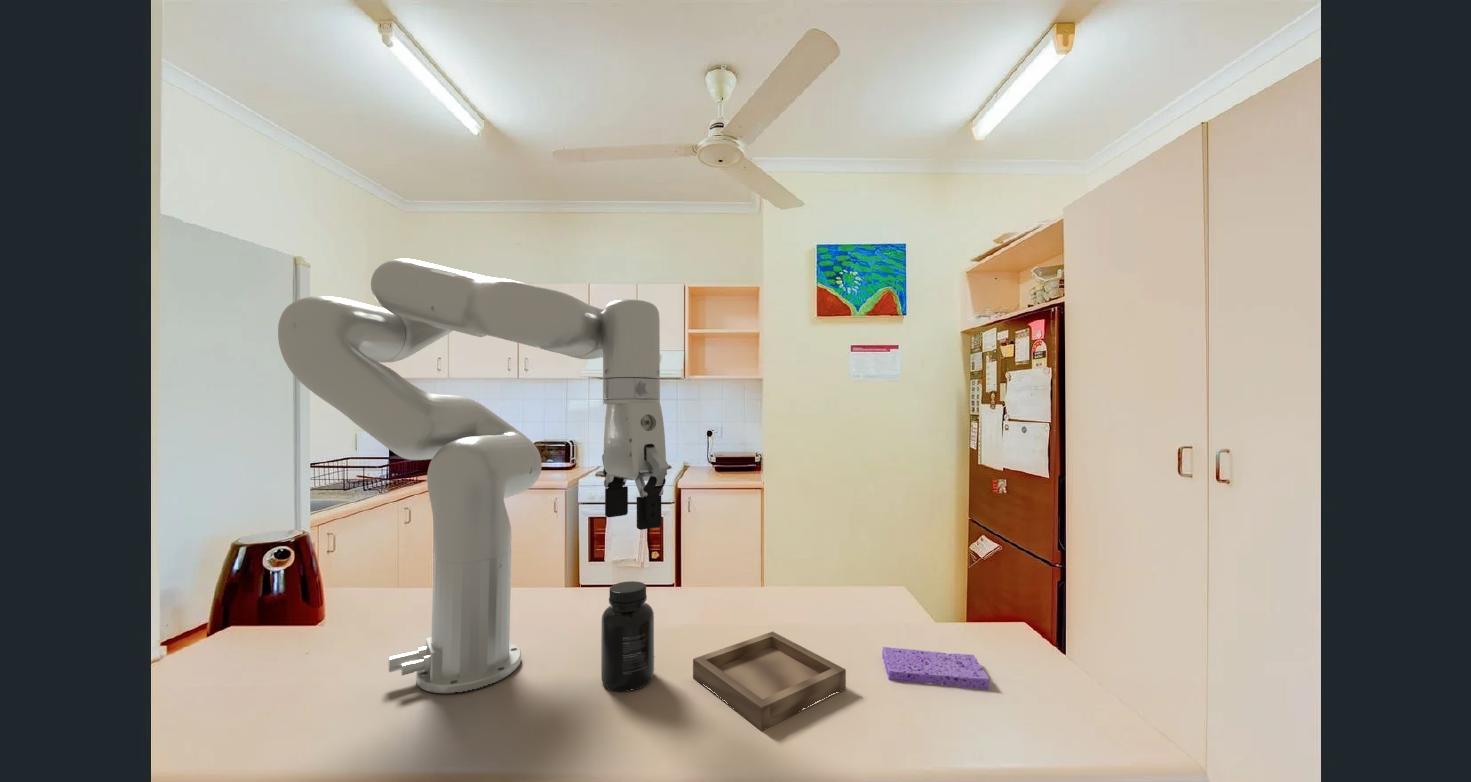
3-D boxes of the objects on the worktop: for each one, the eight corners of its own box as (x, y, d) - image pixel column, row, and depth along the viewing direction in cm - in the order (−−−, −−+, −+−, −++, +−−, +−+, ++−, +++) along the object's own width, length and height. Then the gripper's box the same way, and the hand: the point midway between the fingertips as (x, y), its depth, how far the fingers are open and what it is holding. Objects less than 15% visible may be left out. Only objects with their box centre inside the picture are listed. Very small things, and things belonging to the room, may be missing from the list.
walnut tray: (761, 731, 56) (761, 707, 56) (692, 678, 67) (693, 658, 67) (845, 689, 64) (845, 669, 65) (772, 648, 76) (772, 631, 76)
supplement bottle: (659, 667, 70) (660, 579, 70) (645, 695, 63) (646, 596, 64) (611, 665, 71) (612, 577, 71) (592, 691, 64) (593, 594, 64)
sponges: (990, 694, 64) (989, 679, 65) (887, 683, 67) (887, 669, 67) (974, 667, 71) (974, 653, 71) (881, 658, 74) (881, 645, 74)
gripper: (689, 391, 64) (690, 528, 63) (629, 396, 78) (629, 509, 77) (634, 390, 59) (635, 538, 59) (581, 395, 73) (580, 515, 72)
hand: (631, 521), depth 68 cm, fingers open, 9 cm apart
